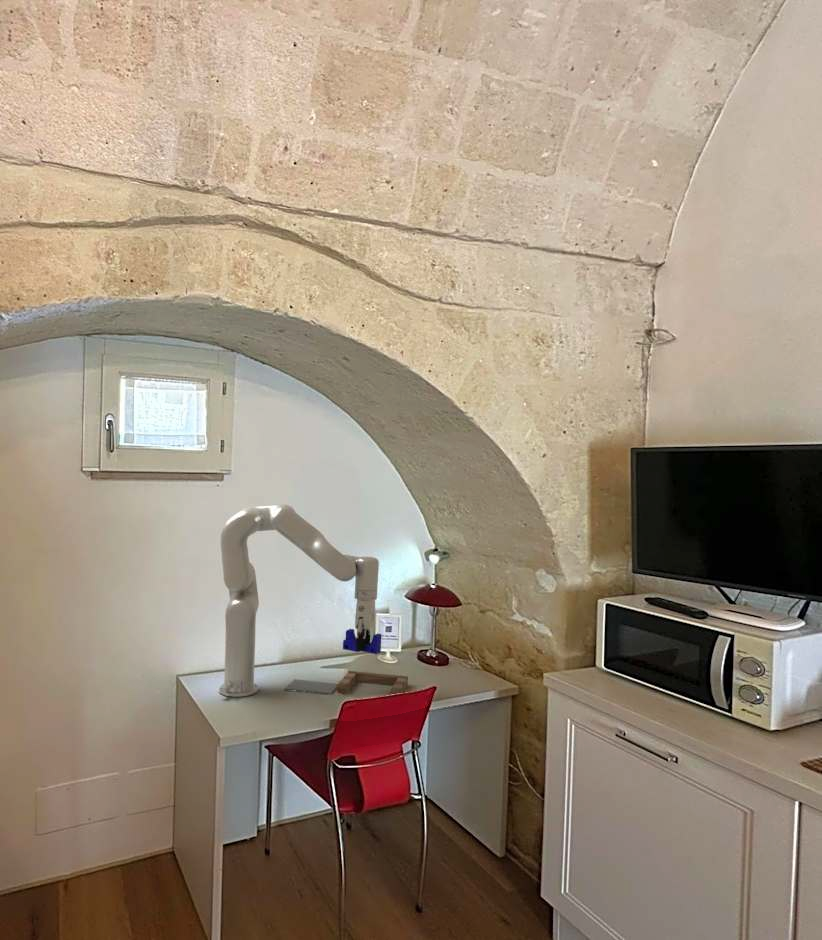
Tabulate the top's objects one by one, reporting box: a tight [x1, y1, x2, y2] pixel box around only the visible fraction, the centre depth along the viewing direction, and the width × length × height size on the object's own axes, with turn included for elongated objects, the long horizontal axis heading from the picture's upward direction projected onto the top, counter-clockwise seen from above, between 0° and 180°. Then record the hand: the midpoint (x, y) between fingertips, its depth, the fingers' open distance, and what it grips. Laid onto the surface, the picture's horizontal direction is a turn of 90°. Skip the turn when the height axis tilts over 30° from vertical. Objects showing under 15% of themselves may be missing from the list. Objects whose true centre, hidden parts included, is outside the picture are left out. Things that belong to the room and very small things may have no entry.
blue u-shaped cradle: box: [342, 628, 382, 655], centre depth 244 cm, size 12×4×6 cm, turn 64°
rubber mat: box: [284, 679, 338, 695], centre depth 246 cm, size 10×16×1 cm, turn 80°
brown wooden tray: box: [336, 670, 409, 695], centre depth 247 cm, size 16×21×3 cm
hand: (363, 647), depth 244 cm, fingers closed on blue u-shaped cradle, 4 cm apart
